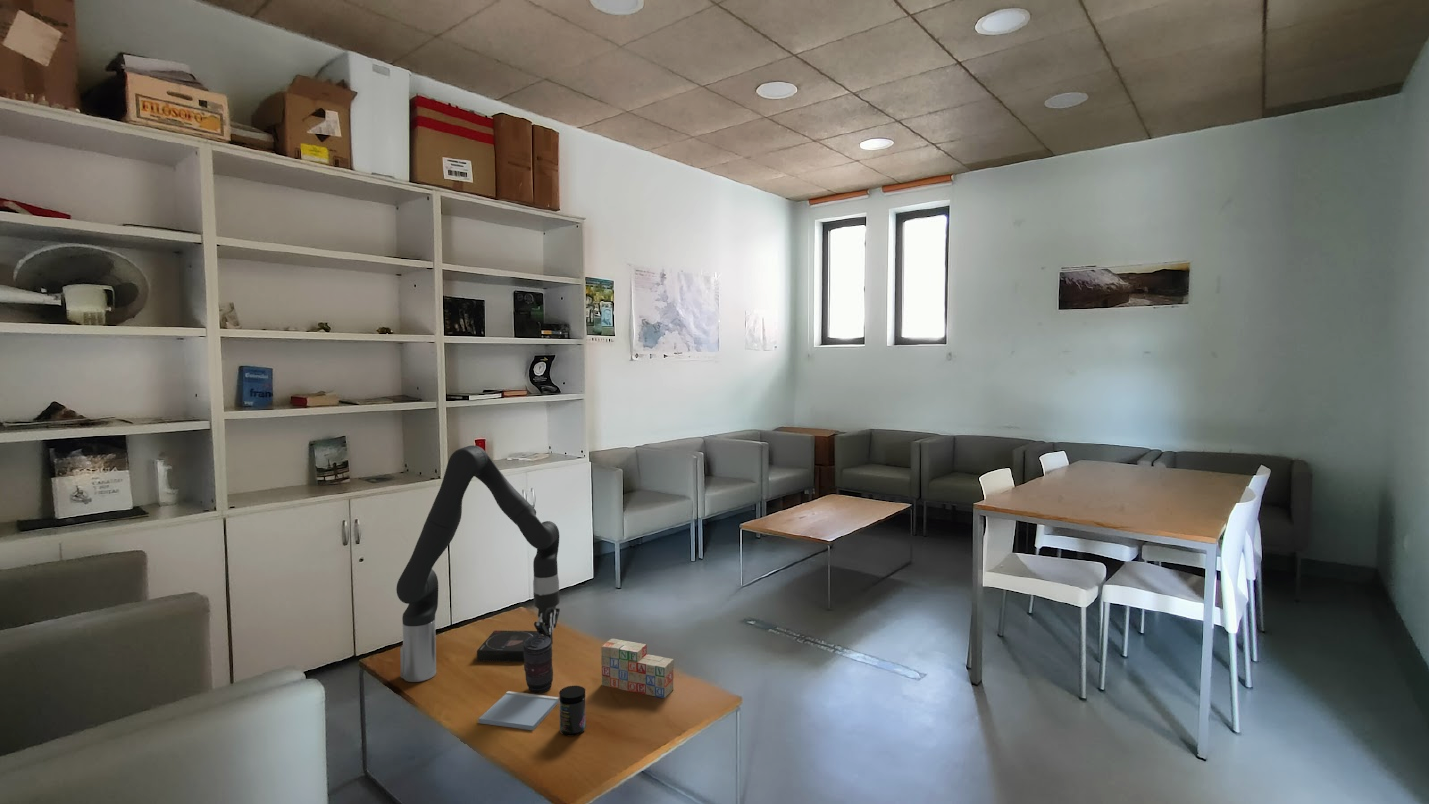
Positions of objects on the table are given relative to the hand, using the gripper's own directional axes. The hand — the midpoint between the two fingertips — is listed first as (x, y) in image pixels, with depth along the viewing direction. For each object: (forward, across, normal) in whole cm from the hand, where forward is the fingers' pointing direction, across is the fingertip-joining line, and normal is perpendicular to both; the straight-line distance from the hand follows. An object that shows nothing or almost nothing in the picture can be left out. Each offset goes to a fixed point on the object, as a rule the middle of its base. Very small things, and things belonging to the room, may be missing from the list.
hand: (548, 645), depth 202 cm
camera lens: (+11, +4, -1) cm, 12 cm away
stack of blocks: (+12, -3, +27) cm, 30 cm away
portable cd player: (+12, -18, -23) cm, 31 cm away
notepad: (+11, +18, 0) cm, 21 cm away
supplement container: (+12, +24, +18) cm, 32 cm away
